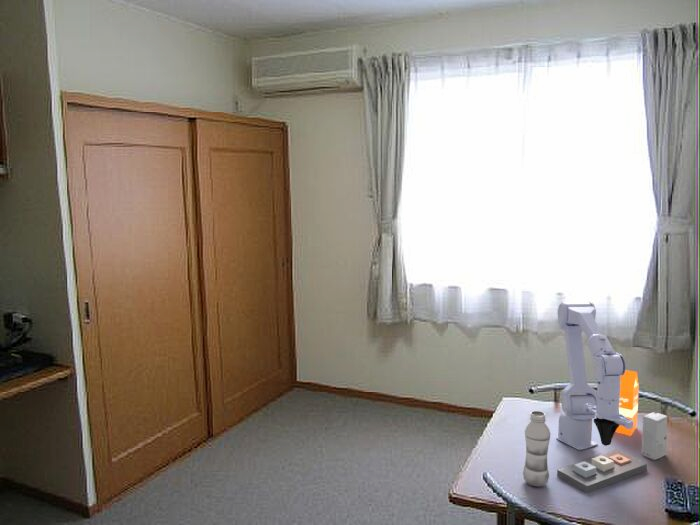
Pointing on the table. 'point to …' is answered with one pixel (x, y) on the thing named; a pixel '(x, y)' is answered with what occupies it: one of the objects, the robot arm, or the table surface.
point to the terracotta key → (620, 459)
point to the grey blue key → (584, 469)
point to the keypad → (602, 473)
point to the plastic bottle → (536, 450)
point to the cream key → (602, 463)
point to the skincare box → (654, 435)
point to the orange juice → (628, 400)
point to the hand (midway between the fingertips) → (606, 444)
